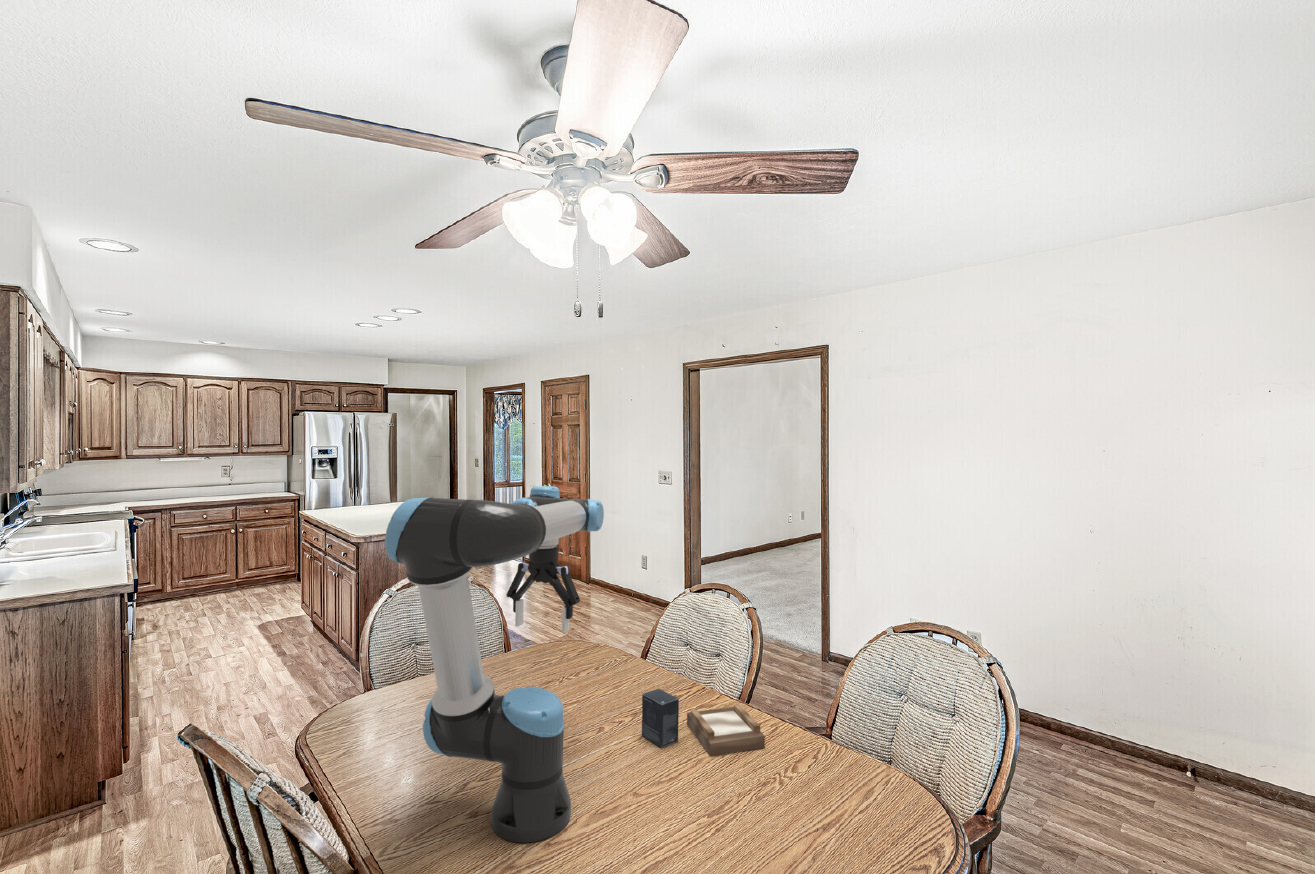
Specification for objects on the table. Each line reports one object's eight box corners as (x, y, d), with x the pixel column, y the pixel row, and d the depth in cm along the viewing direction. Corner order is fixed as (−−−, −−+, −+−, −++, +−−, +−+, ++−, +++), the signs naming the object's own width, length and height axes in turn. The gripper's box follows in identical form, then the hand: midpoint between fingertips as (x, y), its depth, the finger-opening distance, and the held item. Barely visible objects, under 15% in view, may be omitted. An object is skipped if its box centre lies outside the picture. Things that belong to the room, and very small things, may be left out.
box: (678, 741, 144) (679, 698, 144) (661, 748, 140) (661, 704, 140) (658, 728, 150) (659, 687, 150) (640, 735, 146) (641, 693, 146)
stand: (764, 747, 141) (764, 729, 141) (710, 756, 137) (710, 736, 137) (736, 717, 156) (736, 700, 156) (687, 724, 152) (687, 706, 152)
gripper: (593, 547, 152) (592, 629, 151) (510, 540, 160) (508, 618, 159) (581, 551, 145) (579, 638, 144) (494, 544, 153) (492, 626, 152)
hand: (542, 628), depth 152 cm, fingers open, 13 cm apart
